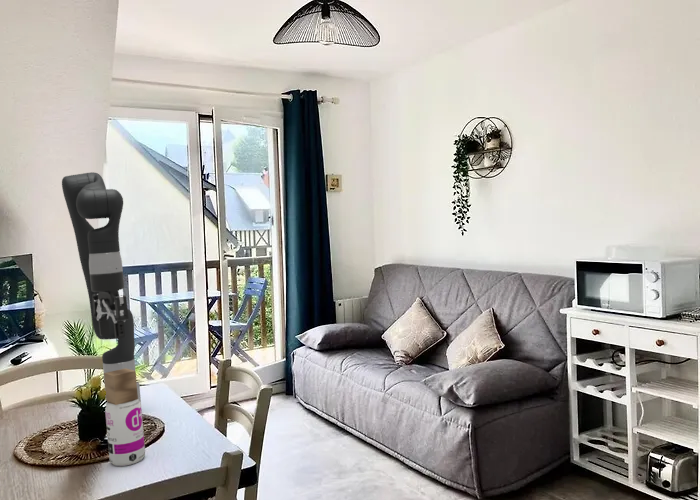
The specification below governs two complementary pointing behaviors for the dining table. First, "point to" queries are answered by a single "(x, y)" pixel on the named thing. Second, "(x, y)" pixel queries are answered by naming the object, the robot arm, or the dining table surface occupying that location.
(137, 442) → the supplement can
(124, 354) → the robot arm
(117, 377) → the beige wooden block
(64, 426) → the dining table surface
